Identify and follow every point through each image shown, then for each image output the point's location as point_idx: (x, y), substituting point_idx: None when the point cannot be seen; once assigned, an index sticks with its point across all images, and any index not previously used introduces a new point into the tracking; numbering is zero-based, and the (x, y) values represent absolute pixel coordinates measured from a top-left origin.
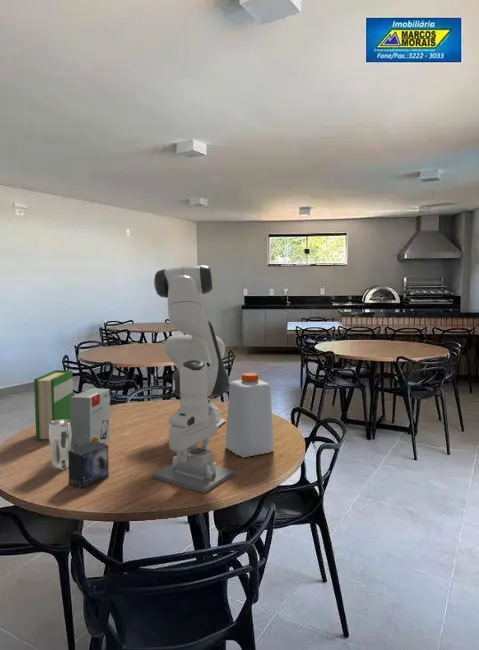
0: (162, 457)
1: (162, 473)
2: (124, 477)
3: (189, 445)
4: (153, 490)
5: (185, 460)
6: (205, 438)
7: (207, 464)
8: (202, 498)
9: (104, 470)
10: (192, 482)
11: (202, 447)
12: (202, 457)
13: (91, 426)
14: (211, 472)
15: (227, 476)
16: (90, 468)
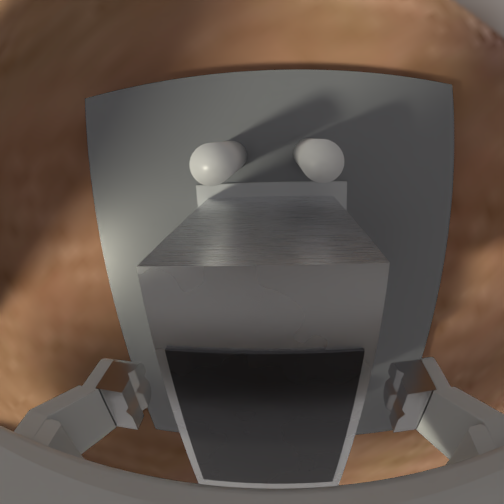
0: None
1: (377, 410)
2: (418, 461)
3: (498, 471)
4: (495, 335)
5: (438, 368)
6: (78, 469)
7: (259, 217)
8: (480, 75)
9: None
10: (415, 215)
11: (128, 406)
12: (373, 254)
13: None
14: (209, 199)
15: (171, 82)
16: None
